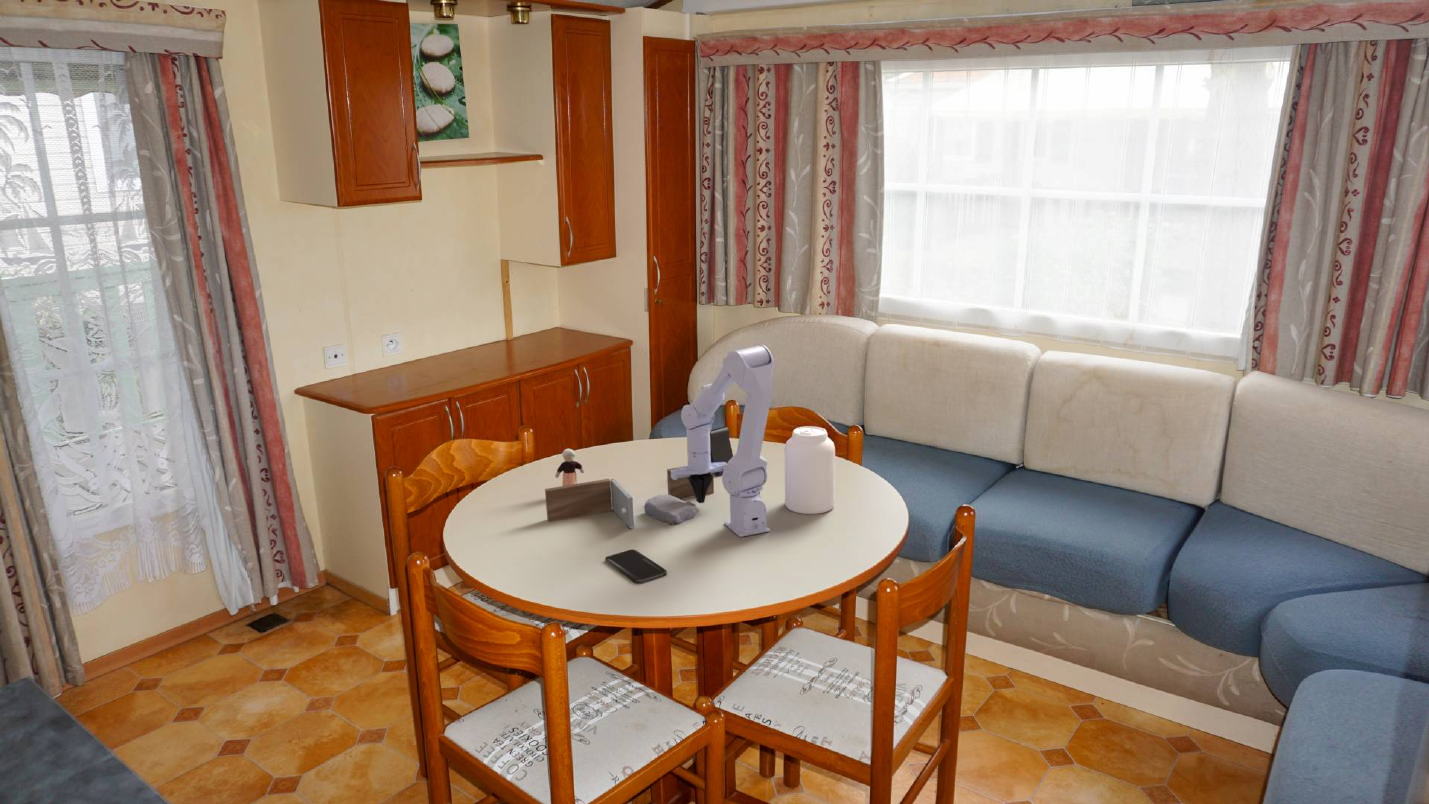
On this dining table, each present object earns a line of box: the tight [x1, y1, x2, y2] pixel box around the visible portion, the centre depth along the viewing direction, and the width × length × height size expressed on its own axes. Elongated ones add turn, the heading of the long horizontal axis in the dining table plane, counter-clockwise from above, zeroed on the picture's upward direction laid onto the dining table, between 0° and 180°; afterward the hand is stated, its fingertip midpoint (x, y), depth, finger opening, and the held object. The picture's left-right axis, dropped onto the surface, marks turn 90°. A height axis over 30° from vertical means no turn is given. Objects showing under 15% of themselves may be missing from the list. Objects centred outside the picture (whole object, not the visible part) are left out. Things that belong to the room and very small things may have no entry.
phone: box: [604, 549, 668, 585], centre depth 215 cm, size 8×1×15 cm
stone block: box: [643, 493, 698, 525], centre depth 244 cm, size 12×5×10 cm
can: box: [784, 425, 836, 515], centre depth 245 cm, size 12×12×20 cm
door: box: [610, 478, 635, 529], centre depth 241 cm, size 15×2×8 cm, turn 23°
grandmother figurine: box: [554, 448, 585, 486], centre depth 258 cm, size 8×4×13 cm, turn 123°
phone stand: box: [710, 426, 734, 477], centre depth 273 cm, size 9×6×12 cm, turn 36°
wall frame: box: [544, 465, 715, 522], centre depth 249 cm, size 2×44×8 cm, turn 113°
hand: (700, 501), depth 248 cm, fingers closed
